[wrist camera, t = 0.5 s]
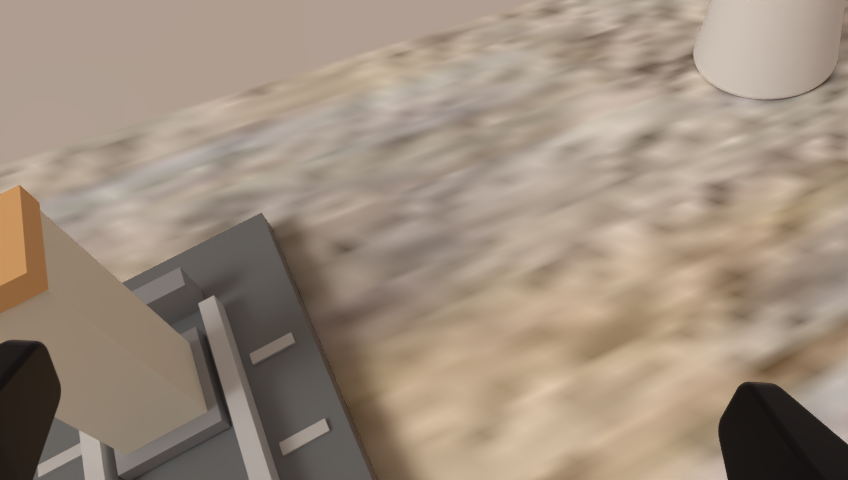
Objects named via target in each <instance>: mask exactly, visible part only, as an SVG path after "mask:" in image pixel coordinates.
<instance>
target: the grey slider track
mask: <svg viewBox="0 0 848 480" xmlns="http://www.w3.org/2000/svg"><path fill="white" fill-rule="evenodd" d="M122 284H124V285H125V286H126V287H127V288H128V289H129V290H130V291H131V292H133V293H134V294H135V295H136V296H137V297H138V298H139V299H140V300H142V301H143V302H144V303H145V304H146V305H147V306H148V307H149V308H151V309H152V310H153V311H154V312H155V313H156V314H157V315H158V316H160V317H161V318H162V319H163V320H164V321H165V322H166V323H167V324H169V325H170V326H171V327H172V328H173V329H174V330H175V331H176V332H177V333H179V334H182V333H184V332H186V331H188V330H190V329H192V328H194V327H196V328H198V329H199V330H200V331H201V332H202V333H203V334H204V336H205V340H206V343H207V347H208V350H209V354H210V357H211V361H212V364H213V368H214V371H215V375H216V378H217V382H218V385H219V389H220V392H221V396H222V399H223V403H224V406H225V410H226V413H227V417H228V420H229V424H230V428H228V429H226V430H224V431H222V432H220V433H218V434H216V435H215V436H213V437H211V438H209V439H207V440H205V441H203V442H202V443H200V444H198V445H196V446H194V447H192V448H190V449H189V450H187V451H185V452H183V453H181V454H179V455H177V456H175V457H174V458H172V459H170V460H168V461H166V462H164V463H162V464H161V465H159V466H157V467H155V468H153V469H151V470H149V471H147V472H146V473H144V474H142V475H140V476H138V477H136V478H134V479H133V480H377V477H376V475H375V472H374V470H373V468H372V465H371V463H370V461H369V458H368V456H367V453H366V451H365V449H364V446H363V444H362V441H361V439H360V437H359V434H358V432H357V430H356V427H355V425H354V422H353V420H352V418H351V415H350V413H349V410H348V408H347V406H346V403H345V401H344V399H343V396H342V394H341V391H340V389H339V387H338V384H337V382H336V380H335V377H334V375H333V372H332V370H331V368H330V365H329V363H328V360H327V358H326V356H325V353H324V351H323V349H322V346H321V344H320V341H319V339H318V337H317V334H316V332H315V330H314V327H313V325H312V322H311V320H310V318H309V315H308V313H307V310H306V308H305V306H304V303H303V301H302V299H301V296H300V294H299V291H298V289H297V287H296V284H295V282H294V279H293V277H292V275H291V272H290V270H289V268H288V265H287V263H286V260H285V258H284V256H283V253H282V251H281V249H280V246H279V244H278V241H277V239H276V237H275V234H274V232H273V229H272V227H271V226H270V225H269V223H268V222H267V220H266V219H265V217H264V216H263V214H262V213H260V214H258V215H256V216H254V217H252V218H250V219H248V220H246V221H244V222H242V223H240V224H238V225H236V226H234V227H232V228H230V229H228V230H226V231H224V232H222V233H220V234H218V235H216V236H214V237H212V238H210V239H208V240H206V241H205V242H203V243H201V244H199V245H197V246H195V247H193V248H191V249H189V250H187V251H185V252H183V253H181V254H179V255H177V256H175V257H173V258H171V259H169V260H167V261H165V262H163V263H161V264H159V265H157V266H155V267H153V268H151V269H149V270H147V271H145V272H143V273H141V274H139V275H137V276H135V277H133V278H131V279H129V280H127V281H125V282H123V283H122ZM33 480H126V479H124V478H122V477H120V476H118V472H117V466H116V460H115V453H114V448H112V447H110V446H108V445H106V444H104V443H102V442H100V441H99V440H97V439H95V438H93V437H91V436H89V435H87V434H85V433H84V432H82V431H80V430H78V429H76V428H74V427H72V426H70V425H69V424H67V423H65V422H63V421H61V420H59V419H57V418H55V417H54V420H53V423H52V426H51V428H50V431H49V434H48V437H47V440H46V443H45V446H44V449H43V452H42V455H41V458H40V461H39V464H38V467H37V469H36V472H35V475H34V478H33Z"/></svg>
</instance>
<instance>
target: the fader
mask: <svg viewBox="0 0 848 480" xmlns="http://www.w3.org/2000/svg"><path fill="white" fill-rule="evenodd" d="M7 340H32V341H39V342H42V343H43V344H44V345H45V346H46V347H47V349H48V352H49V354H50V357H51V360H52V362H53V365H54V368H55V370H56V373H57V375H58V378H59V381H60V385H61V397H60V402H59V405H58V408H57V411H56V414H55V418H57V419H59V420H61V421H63V422H65V423H67V424H69V425H70V426H72V427H74V428H76V429H78V430H80V431H82V432H84V433H85V434H87V435H89V436H91V437H93V438H95V439H97V440H99V441H100V442H102V443H104V444H106V445H108V446H110V447H112V448H114V453H115V460H116V466H117V472H118V476H120V477H122V478H124V479H126V480H133V479H134V478H136V477H138V476H140V475H142V474H144V473H146V472H147V471H149V470H151V469H153V468H155V467H157V466H159V465H161V464H162V463H164V462H166V461H168V460H170V459H172V458H174V457H175V456H177V455H179V454H181V453H183V452H185V451H187V450H189V449H190V448H192V447H194V446H196V445H198V444H200V443H202V442H203V441H205V440H207V439H209V438H211V437H213V436H215V435H216V434H218V433H220V432H222V431H224V430H226V429H228V428H230V424H229V420H228V417H227V413H226V410H225V406H224V403H223V399H222V396H221V392H220V389H219V385H218V382H217V378H216V375H215V371H214V368H213V364H212V361H211V357H210V354H209V350H208V347H207V343H206V340H205V336H204V334H203V333H202V332H201V331H200V330H199V329H198V328H196V327H194V328H192V329H190V330H188V331H186V332H184V333H182V334H179V333H177V332H176V331H175V330H174V329H173V328H172V327H171V326H170V325H169V324H167V323H166V322H165V321H164V320H163V319H162V318H161V317H160V316H158V315H157V314H156V313H155V312H154V311H153V310H152V309H151V308H149V307H148V306H147V305H146V304H145V303H144V302H143V301H142V300H140V299H139V298H138V297H137V296H136V295H135V294H134V293H133V292H131V291H130V290H129V289H128V288H127V287H126V286H125V285H124V284H122V283H121V282H120V281H119V280H118V279H117V278H116V277H115V276H114V275H112V274H111V273H110V272H109V271H108V270H107V269H106V268H105V267H103V266H102V265H101V264H100V263H99V262H98V261H97V260H96V259H94V258H93V257H92V256H91V255H90V254H89V253H88V252H87V251H85V250H84V249H83V248H82V247H81V246H80V245H79V244H78V243H76V242H75V241H74V240H73V239H72V238H71V237H70V236H69V235H67V234H66V233H65V232H64V231H63V230H62V229H61V228H60V227H59V226H57V225H56V224H55V223H54V222H53V221H52V220H51V219H50V218H48V217H47V216H46V215H45V214H44V213H43V212H42V211H41V210H40V205H39V202H38V201H37V200H36V199H35V198H33V197H32V196H31V195H30V194H29V193H28V192H27V191H26V190H25V189H23V188H22V187H21V186H20V185H19V186H17V187H14V188H12V189H10V190H8V191H6V192H4V193H2V194H0V344H1V343H2V342H4V341H7Z"/></svg>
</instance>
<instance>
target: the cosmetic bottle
mask: <svg viewBox="0 0 848 480" xmlns="http://www.w3.org/2000/svg"><path fill="white" fill-rule="evenodd" d="M845 6H846V0H711V2H710V5H709V8H708V11H707V14H706V17H705V19H704V22H703V25H702V27H701V30H700V33H699V35H698V38H697V40H696V43H695V46H694V52H693V55H694V61H695V65H696V67H697V69H698V71H699V72H700V74H701V75H702V76H703V77H704V78H705V79H706V80H707V81H708V82H709V83H711V84H712V85H714V86H715V87H717V88H719V89H721V90H723V91H725V92H727V93H730V94H733V95H736V96H740V97H744V98H750V99H761V100H772V99H783V98H788V97H793V96H796V95H800V94H803V93H805V92H808V91H810V90H812V89H814V88H816V87H817V86H819V85H820V84H822V83H823V82H824V81H825V80H826V79H827V78H828V77H829V76H830V75H831V74H832V72H833V71H834V69H835V67H836V64H837V62H838V56H839V47H840V37H841V30H842V23H843V17H844V11H845Z"/></svg>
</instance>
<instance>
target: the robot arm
mask: <svg viewBox="0 0 848 480" xmlns="http://www.w3.org/2000/svg"><path fill="white" fill-rule="evenodd" d="M60 397H61V385H60V381H59V378H58V375H57V373H56V370H55V368H54V365H53V362H52V360H51V357H50V354H49V352H48V349H47V347H46V346H45V345H44V344H43V343H42V342H39V341H32V340H7V341H4V342H2V343H1V344H0V480H33V478H34V475H35V472H36V469H37V467H38V464H39V461H40V458H41V455H42V452H43V449H44V446H45V443H46V440H47V437H48V434H49V431H50V428H51V426H52V423H53V420H54V417H55V414H56V411H57V408H58V405H59V402H60ZM718 435H719V441H720V446H721V450H722V455H723V459H724V464H725V469H726V473H727V478H728V480H848V444H847V443H845V442H844V441H843V440H842V439H841V438H840V437H838V436H837V435H836V434H835V433H834V432H832V431H831V430H830V429H829V428H828V427H827V426H825V425H824V424H823V423H822V422H821V421H820V420H818V419H817V418H816V417H815V416H814V415H812V414H811V413H810V412H809V411H808V410H807V409H805V408H804V407H803V406H802V405H801V404H800V403H798V402H797V401H796V400H795V399H794V398H792V397H791V396H790V395H789V394H788V393H787V392H785V391H784V390H783V389H782V388H780V387H779V386H777V385H775V384H772V383H762V382H744V383H743V384H741V385H740V386H739V387H738V388H737V390H736V392H735V394H734V395H733V397H732V399H731V401H730V403H729V404H728V406H727V408H726V410H725V411H724V413H723V415H722V417H721V419H720V422H719V428H718Z"/></svg>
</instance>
